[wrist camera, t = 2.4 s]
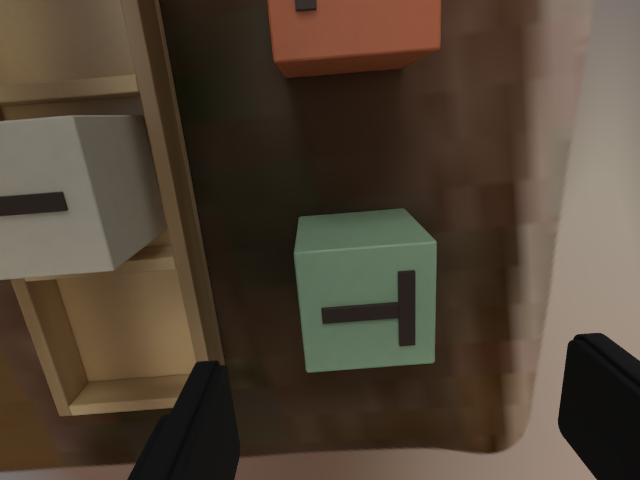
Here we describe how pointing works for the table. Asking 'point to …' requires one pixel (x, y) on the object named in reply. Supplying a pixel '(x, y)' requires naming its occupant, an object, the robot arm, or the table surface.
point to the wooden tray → (152, 260)
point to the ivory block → (75, 194)
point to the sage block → (365, 290)
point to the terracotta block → (351, 34)
